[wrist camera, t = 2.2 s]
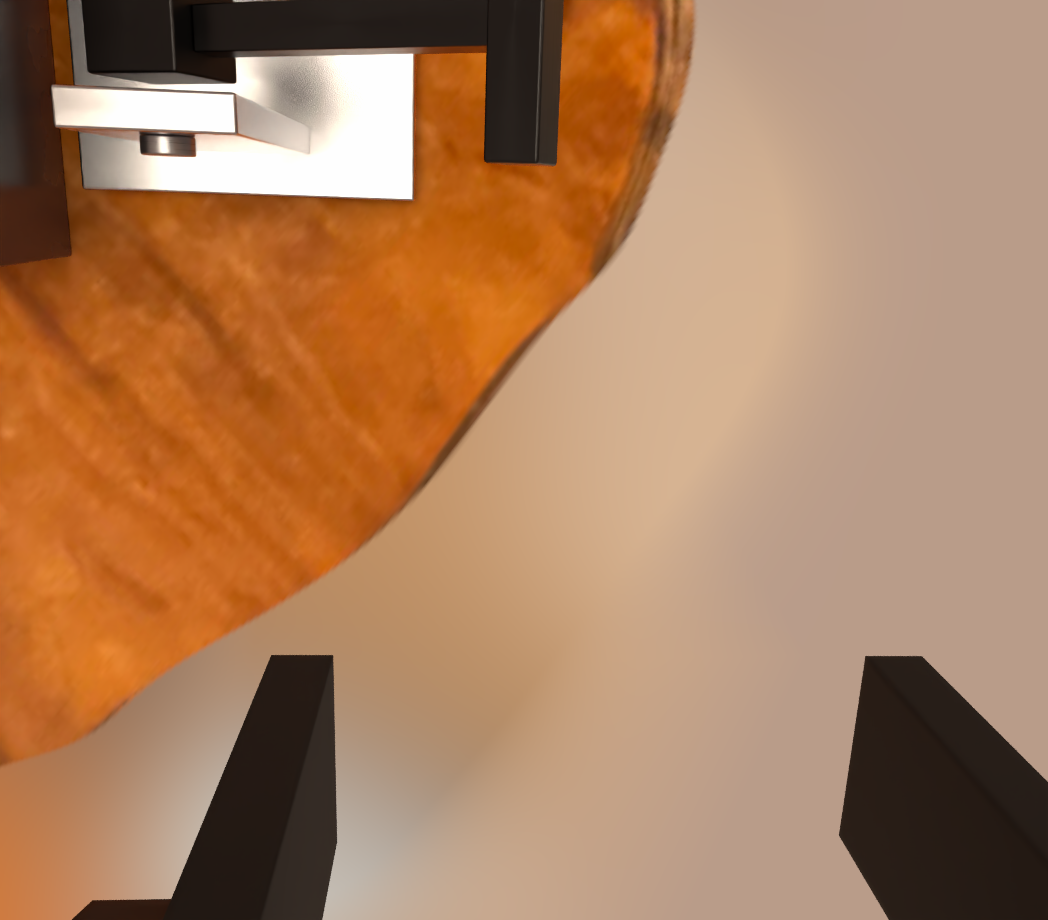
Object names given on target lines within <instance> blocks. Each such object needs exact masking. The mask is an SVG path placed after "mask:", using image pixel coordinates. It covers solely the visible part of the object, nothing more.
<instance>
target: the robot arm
mask: <svg viewBox="0 0 1048 920" xmlns="http://www.w3.org/2000/svg"><path fill="white" fill-rule="evenodd" d="M334 723H335V722H334V675H333V655H271V657H270V660H269V662H268V665H267V667H266V669H265V672H264V674H263V677H262V679H261V682H260V684H259V687H258V689H257V691H256V694H255V696H254V699H253V701H252V704H251V706H250V708H249V711H248V714H247V716H246V718H245V721H244V723H243V726H242V728H241V730H240V733H239V735H238V738H237V740H236V743H235V745H234V747H233V750H232V752H231V755H230V757H229V760H228V762H227V765H226V767H225V770H224V772H223V774H222V777H221V779H220V782H219V785H218V787H217V789H216V791H215V794H214V796H213V799H212V801H211V804H210V806H209V808H208V811H207V813H206V816H205V819H204V821H203V823H202V825H201V828H200V830H199V833H198V835H197V838H196V840H195V843H194V845H193V847H192V850H191V852H190V855H189V857H188V860H187V862H186V864H185V867H184V869H183V872H182V874H181V877H180V879H179V881H178V884H177V886H176V889H175V891H174V894H173V896H172V899H151V900H93V901H92V902H90V903H89V904H88V905H87V906H86V907H85V908H84V909H83V910H82V911H81V912H80V913H78V914H77V915H76V916H75V917H74V918H73V919H72V920H322V918H323V912H324V907H325V902H326V896H327V892H328V886H329V881H330V876H331V871H332V865H333V860H334V855H335V850H336V844H337V819H336V770H335V724H334ZM839 836H840V838H841V840H842V841H843V843H844V845H845V846H846V848H847V850H848V851H849V853H850V855H851V857H852V858H853V860H854V861H855V863H856V865H857V867H858V868H859V870H860V872H861V873H862V875H863V877H864V878H865V880H866V882H867V884H868V885H869V887H870V888H871V890H872V892H873V894H874V895H875V897H876V899H877V900H878V902H879V903H880V905H881V907H882V909H883V910H884V912H885V914H886V915H887V917H888V919H889V920H1048V782H1047V781H1046V780H1045V779H1044V778H1043V777H1042V776H1041V775H1040V774H1039V773H1038V772H1037V771H1036V770H1035V769H1034V768H1033V767H1032V766H1031V765H1030V764H1029V763H1028V762H1027V761H1026V760H1025V759H1024V758H1023V757H1022V756H1021V755H1020V754H1019V753H1018V752H1017V751H1016V750H1015V749H1014V748H1013V747H1012V746H1011V745H1010V744H1009V743H1008V742H1007V741H1006V740H1005V739H1004V738H1003V737H1002V736H1001V735H1000V734H999V733H998V732H997V731H996V730H995V729H994V728H993V727H992V726H991V725H990V724H989V723H988V722H987V721H986V720H985V719H984V718H983V717H982V716H981V715H980V714H979V713H978V712H977V711H976V710H975V709H974V708H973V707H972V706H971V705H970V704H969V703H968V702H967V701H966V700H965V699H964V698H963V697H962V696H961V695H960V694H959V693H958V692H957V691H956V690H955V689H954V688H953V687H952V686H951V685H950V684H949V683H948V682H947V681H946V680H945V679H944V678H943V677H942V676H941V675H940V674H939V673H938V672H937V671H936V670H935V669H934V668H933V667H932V666H931V665H930V664H929V663H928V662H927V661H926V660H925V659H924V658H923V657H922V656H865V663H864V671H863V677H862V683H861V690H860V697H859V704H858V710H857V717H856V724H855V731H854V737H853V745H852V751H851V758H850V765H849V772H848V778H847V785H846V791H845V798H844V805H843V812H842V819H841V825H840V832H839Z"/></svg>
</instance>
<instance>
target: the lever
mask: <svg viewBox="0 0 1048 920" xmlns="http://www.w3.org/2000/svg"><path fill="white" fill-rule="evenodd" d="M81 1H82V13H83V25H84V37H85V49H86V61H87V71H88V72H89V73H91V74H95V75H101V76H107V77H113V78H119V79H125V80H131V81H136V82H142V83H148V84H154V85H166V84H235V83H236V82H237V73H236V57H285V56H336V55H387V54H439V53H487V55H486V98H485V141H484V160H485V162H487V163H493V164H502V165H522V166H555V165H556V163H557V141H558V117H559V94H560V71H561V48H562V25H563V2H564V0H271V1H248V2H233V0H81Z"/></svg>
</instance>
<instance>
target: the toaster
mask: <svg viewBox="0 0 1048 920" xmlns="http://www.w3.org/2000/svg"><path fill="white" fill-rule="evenodd" d="M53 84H55V75H54V64H53V53H52V42H51V32H50V21H49V10H48V0H0V267H3V266H9V265H16V264H22V263H29V262H35V261H41V260H48V259H54V258H61V257H67V256H71V248H70V238H69V227H68V216H67V205H66V194H65V183H64V172H63V162H62V151H61V140H60V129H59V128H56V127H55V126H54V122H53V111H52V101H51V90H50V87H51V85H53Z"/></svg>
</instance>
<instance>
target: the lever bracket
mask: <svg viewBox="0 0 1048 920" xmlns="http://www.w3.org/2000/svg"><path fill="white" fill-rule="evenodd" d="M66 1H67V13H68V24H69V36H70V47H71V59H72V70H73V82H74V85H60V84H53V85H51V87H50V90H51V101H52V111H53V122H54V126H55V127H56V128H60V129H66V130H72V131H78V139H79V150H80V162H81V173H82V185H83V188H84V189H92V190H119V191H146V192H173V193H201V194H228V195H255V196H282V197H309V198H337V199H364V200H391V201H415V199H416V54H387V55H336V56H285V57H236V73H237V82H236V83H235V84H166V85H154V84H148V83H142V82H136V81H131V80H125V79H119V78H113V77H107V76H101V75H95V74H91V73H89V72H88V71H87V61H86V49H85V37H84V25H83V13H82V1H81V0H66ZM248 1H271V0H233V2H248Z"/></svg>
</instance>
